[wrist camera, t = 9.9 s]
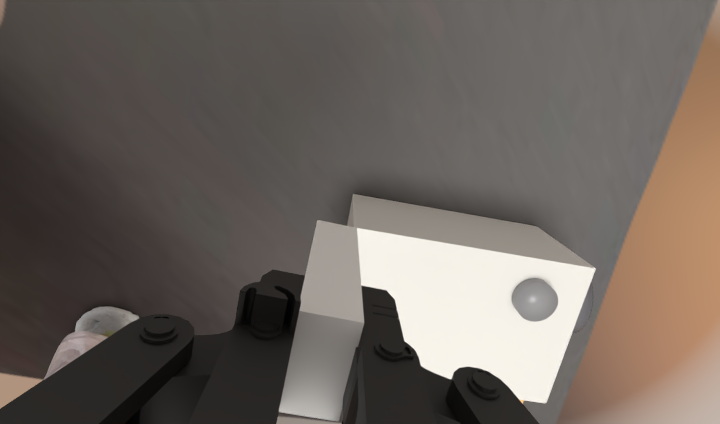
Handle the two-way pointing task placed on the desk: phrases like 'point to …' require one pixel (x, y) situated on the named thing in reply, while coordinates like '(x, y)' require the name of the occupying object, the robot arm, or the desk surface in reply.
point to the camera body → (475, 290)
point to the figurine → (89, 334)
